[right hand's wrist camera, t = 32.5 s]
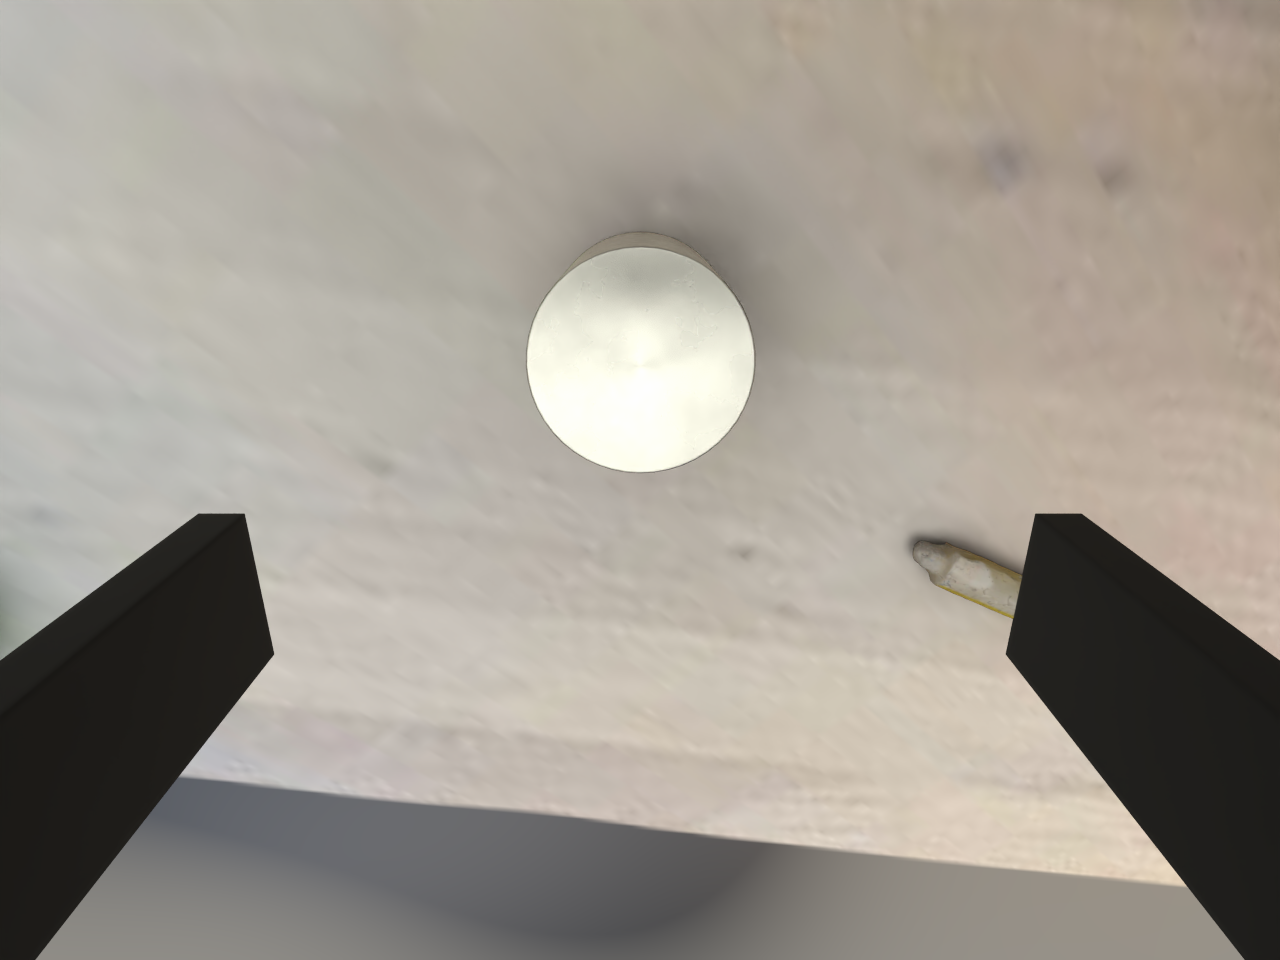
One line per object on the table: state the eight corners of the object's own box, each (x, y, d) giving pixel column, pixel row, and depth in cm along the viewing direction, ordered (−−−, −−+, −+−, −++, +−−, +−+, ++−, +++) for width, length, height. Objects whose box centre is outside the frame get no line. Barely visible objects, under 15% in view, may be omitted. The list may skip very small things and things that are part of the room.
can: (515, 308, 36) (477, 344, 28) (658, 192, 34) (664, 193, 26) (624, 443, 39) (620, 513, 30) (763, 341, 37) (800, 387, 29)
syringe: (894, 561, 41) (911, 586, 39) (933, 505, 40) (953, 528, 37) (1237, 724, 45) (1273, 757, 43) (1283, 679, 44) (1322, 709, 42)
